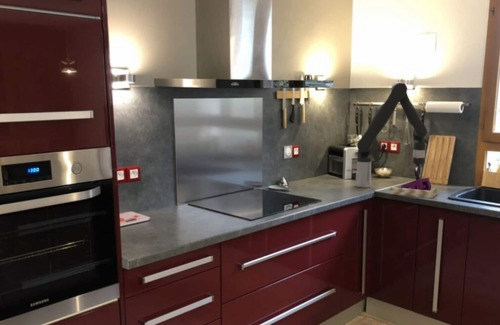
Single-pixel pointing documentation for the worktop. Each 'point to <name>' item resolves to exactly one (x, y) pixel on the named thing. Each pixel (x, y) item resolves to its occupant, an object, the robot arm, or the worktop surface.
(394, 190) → the beige tray
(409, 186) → the purple wedge
